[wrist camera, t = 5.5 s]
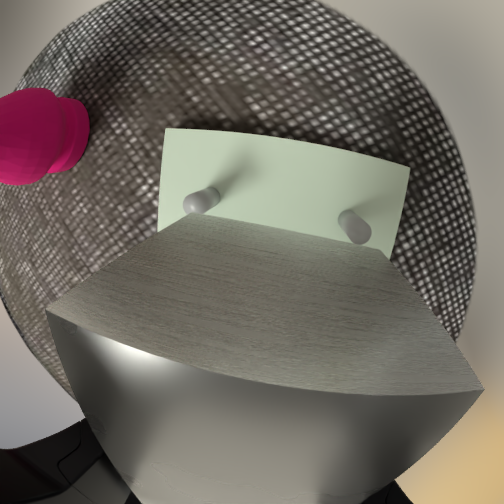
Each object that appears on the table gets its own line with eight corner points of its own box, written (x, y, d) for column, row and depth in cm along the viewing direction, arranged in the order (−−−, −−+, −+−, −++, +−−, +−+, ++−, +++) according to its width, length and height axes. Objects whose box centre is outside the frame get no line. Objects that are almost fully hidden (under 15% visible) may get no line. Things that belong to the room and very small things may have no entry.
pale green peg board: (342, 366, 20) (349, 403, 16) (165, 335, 21) (145, 366, 17) (402, 166, 15) (433, 170, 11) (173, 130, 16) (141, 123, 12)
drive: (191, 212, 7) (45, 309, 2) (380, 249, 7) (484, 389, 2) (185, 433, 11) (152, 516, 6) (287, 453, 10) (278, 541, 5)
